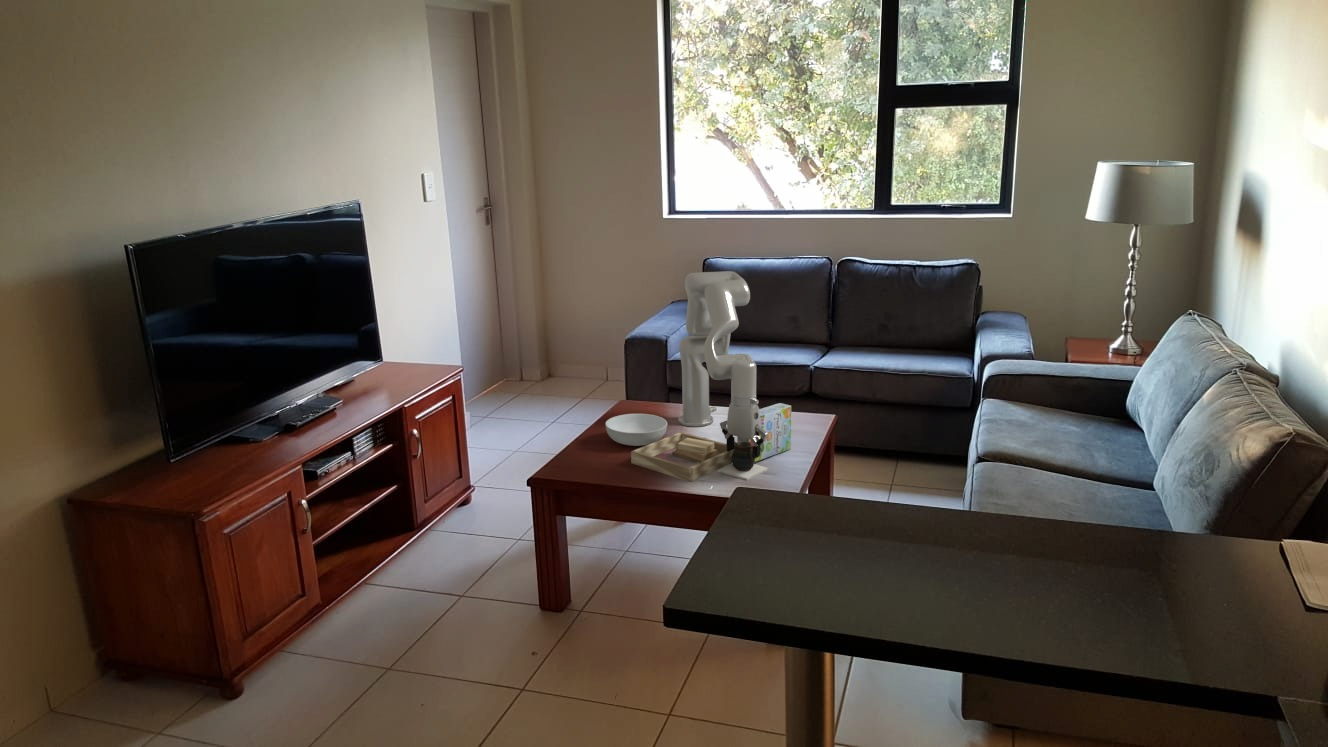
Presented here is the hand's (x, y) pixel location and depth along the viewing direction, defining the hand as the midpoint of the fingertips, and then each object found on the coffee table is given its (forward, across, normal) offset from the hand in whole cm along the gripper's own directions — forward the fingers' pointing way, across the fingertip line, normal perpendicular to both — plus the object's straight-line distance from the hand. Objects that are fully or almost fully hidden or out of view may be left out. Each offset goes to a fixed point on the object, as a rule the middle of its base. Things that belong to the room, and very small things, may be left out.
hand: (743, 453), depth 277 cm
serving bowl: (+6, +44, +1) cm, 44 cm away
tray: (+6, +19, +5) cm, 20 cm away
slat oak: (+4, +19, 0) cm, 19 cm away
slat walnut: (+6, +19, 0) cm, 20 cm away
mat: (+6, 0, 0) cm, 6 cm away
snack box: (+5, +2, -14) cm, 16 cm away
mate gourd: (+5, 0, 0) cm, 5 cm away
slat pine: (+2, +19, 0) cm, 19 cm away
